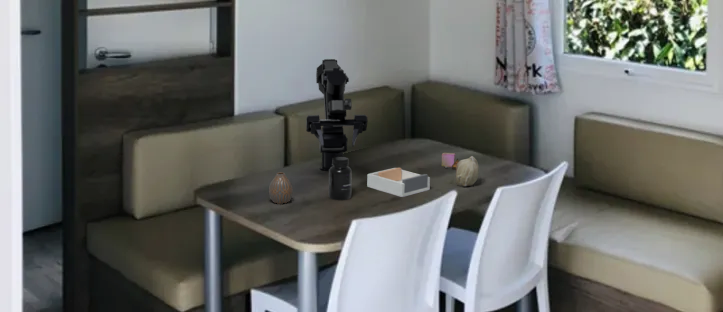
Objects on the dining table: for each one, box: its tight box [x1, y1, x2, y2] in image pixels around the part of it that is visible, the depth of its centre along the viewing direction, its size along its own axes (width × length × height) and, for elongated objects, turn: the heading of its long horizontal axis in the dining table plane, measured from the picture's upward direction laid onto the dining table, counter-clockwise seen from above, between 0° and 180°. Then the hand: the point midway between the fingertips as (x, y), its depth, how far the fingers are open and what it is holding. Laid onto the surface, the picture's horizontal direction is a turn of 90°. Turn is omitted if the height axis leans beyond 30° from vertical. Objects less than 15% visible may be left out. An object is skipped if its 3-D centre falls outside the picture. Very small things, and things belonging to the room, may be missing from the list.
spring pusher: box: [377, 167, 402, 181], centre depth 302 cm, size 3×9×4 cm, turn 133°
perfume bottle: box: [441, 152, 460, 171], centre depth 326 cm, size 12×12×4 cm
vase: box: [268, 172, 294, 205], centre depth 283 cm, size 7×7×9 cm
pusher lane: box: [366, 167, 431, 198], centre depth 299 cm, size 15×12×5 cm
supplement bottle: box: [328, 156, 353, 201], centre depth 288 cm, size 7×7×12 cm
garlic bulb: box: [455, 155, 480, 187], centre depth 303 cm, size 9×8×10 cm
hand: (338, 146), depth 294 cm, fingers open, 9 cm apart
